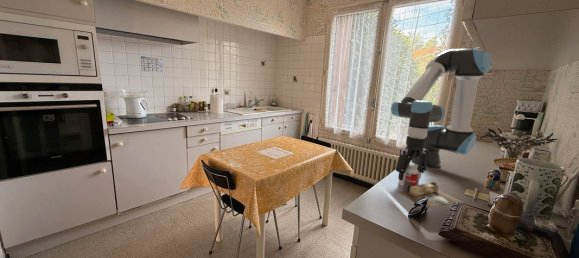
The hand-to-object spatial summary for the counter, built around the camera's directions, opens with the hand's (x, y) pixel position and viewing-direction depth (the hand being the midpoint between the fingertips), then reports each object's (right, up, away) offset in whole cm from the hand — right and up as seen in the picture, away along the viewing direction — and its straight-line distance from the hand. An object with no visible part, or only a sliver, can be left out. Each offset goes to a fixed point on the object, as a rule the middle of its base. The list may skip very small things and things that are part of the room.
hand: (408, 185), depth 106 cm
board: (+3, -3, -11) cm, 12 cm away
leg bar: (+2, -1, -8) cm, 9 cm away
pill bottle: (0, -1, 0) cm, 1 cm away
